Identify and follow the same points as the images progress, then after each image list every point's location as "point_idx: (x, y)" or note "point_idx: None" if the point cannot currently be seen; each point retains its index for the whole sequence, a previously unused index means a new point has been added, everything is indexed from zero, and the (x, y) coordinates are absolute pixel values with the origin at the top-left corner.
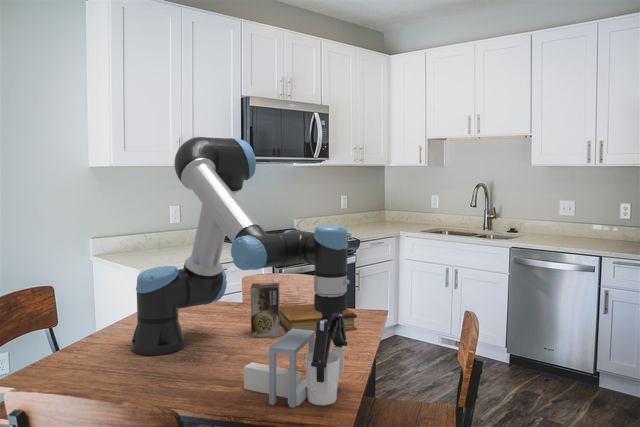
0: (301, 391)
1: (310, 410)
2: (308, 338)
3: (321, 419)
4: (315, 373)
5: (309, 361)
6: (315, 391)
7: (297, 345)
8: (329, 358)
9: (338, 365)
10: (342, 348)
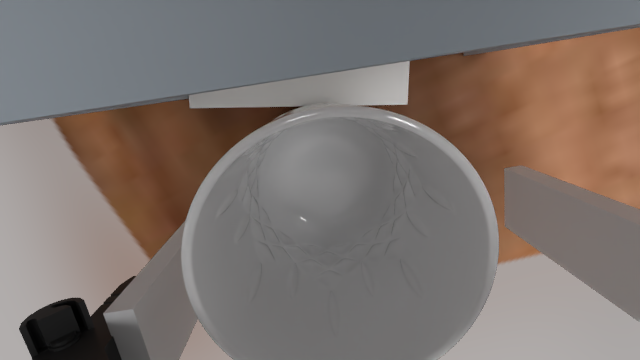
0: (238, 106)
1: (202, 174)
2: (586, 31)
3: (158, 245)
4: (135, 279)
5: (189, 211)
6: (182, 225)
7: (55, 77)
8: (459, 246)
9: (348, 354)
10: (633, 315)
